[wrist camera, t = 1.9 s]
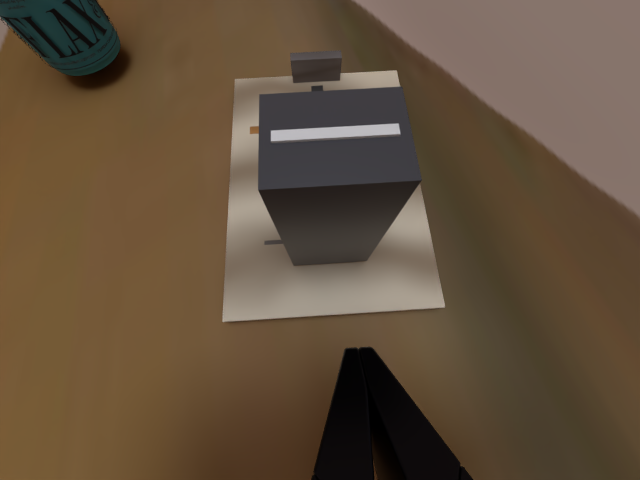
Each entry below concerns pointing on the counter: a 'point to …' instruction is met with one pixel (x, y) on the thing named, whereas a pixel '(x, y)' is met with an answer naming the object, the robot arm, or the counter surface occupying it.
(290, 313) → the console panel
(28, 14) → the beverage bottle
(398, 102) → the fader cap
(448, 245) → the counter surface
